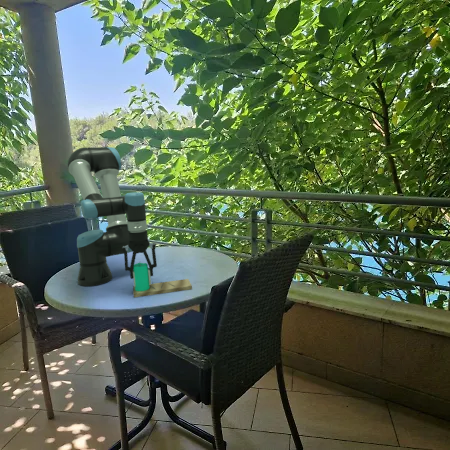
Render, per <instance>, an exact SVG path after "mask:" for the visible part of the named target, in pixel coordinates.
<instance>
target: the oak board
mask: <svg viewBox="0 0 450 450" xmlns="http://www.w3.org/2000/svg"><path fill="white" fill-rule="evenodd" d="M149 286H150V288H149V289H148V290H146V291H136V290H135V287H134V285H133V288H132V290H133V291H132V292H133V293H132V294H133V298H140V297H147V296H153V295H160V294H168V293H175V292H182V291H189V290H192V289H193V285H192V283H191V282H190V279H189V278H185V279H184V278H183V279H179V280H178V279H175V280H171V281H170V280H169V281H164V282H154V283H151V285H149Z"/></svg>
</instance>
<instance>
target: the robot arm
mask: <svg viewBox="0 0 450 450" xmlns="http://www.w3.org/2000/svg"><path fill="white" fill-rule="evenodd" d="M66 164H67V165H66V167H67V170H68V173H69V174H70V175H71V176H72V177H73V178H74V180H75V181H74V182H75V183H76V186H77V188H78V191H79V193H80V196H81V198H82V200H81V201H80V211H81V215H82V217H83V218H85V219H96V218H102V217H103V218H104V217H106V220H107V221H106V222H107V224H108V225H107V226H106V227H105V231H104V230H103V229H92V230H89V231H85V232H82V233H81V234H78V236H77V238H76V248H77V250H78V251H77V253H78V261H79V270H78V274H77V284H78V285H79V286H81V287H94V286H100V285H103V284H107V283H109V282H110V281H112V280H113V274H112V271H111V269H110V267H109V265H108V263H107V258H108V257H113V256H114V257H115V256H118V255H124V256H123V257H124V269H125V272H127V271H129V275H130V279H133V286H134V287H136V284H135V274H134V271H133V267H134V264H135V262H136V256H137V254H143V255H144V257H145V260H146V263H147V265H148V276H149V285H151V284H152V278H151V277H153V276H154V271H153V269H154V268H157V267H158V265H157V257H156V256H157V255H156V248H157V245H156V243H155V242H153V243H152V242H150V241H149V236H148V230H147V228H148V225H147V223H148V222H147V213H146V199H145V194H144V193H143V192H141V191H139V192H138V191H136V192H135V191H133V192H127V193H126V194H123V195H121V194H122V193H121V190H120V185H119V180H118V175H119V174H120V170H121V169H122V159H121V156H120V153H119V152H118V150H117V149H116V148H115V147H111V146H110V147H108V146H104V147H103V146H101V147H80V148H78V149H75V150H74V151H73V152H72V153H71V154H70V156H69V157H68V160H67V163H66ZM92 173H94V176H93V174H92ZM94 177H96V178H98V180H99V181H98V182H99V185H100V186H99V187H100V189H99V187H98V185H97V183H96V181H95V178H94ZM100 190H101V191H100ZM148 248H150V249H151V254H152V262H153V263H152V262H151V260H150V256H149V254H148V252H147V249H148ZM129 253H132V256H131V260H130V265H129V262H128V261H129V259H128V254H129Z"/></svg>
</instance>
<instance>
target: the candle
mask: <svg viewBox="0 0 450 450" xmlns="http://www.w3.org/2000/svg"><path fill="white" fill-rule="evenodd" d="M148 268H149V265H148V263H147V262H138V263H134V267H133V271H134V274H135V284H136V287H135V290H136V291H146V290H148V289H149V288H150V286H149V276H148Z"/></svg>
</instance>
